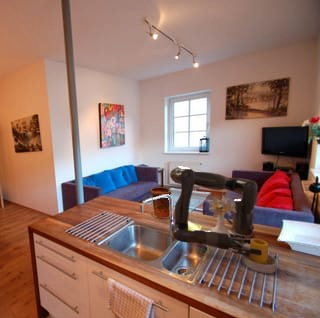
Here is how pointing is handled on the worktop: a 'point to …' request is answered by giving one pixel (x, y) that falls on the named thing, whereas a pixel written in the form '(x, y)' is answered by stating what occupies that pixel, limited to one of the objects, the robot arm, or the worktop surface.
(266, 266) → the bowl
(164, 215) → the vessel
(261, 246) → the yellow hollow cylinder
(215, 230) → the flower vase
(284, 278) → the worktop surface
